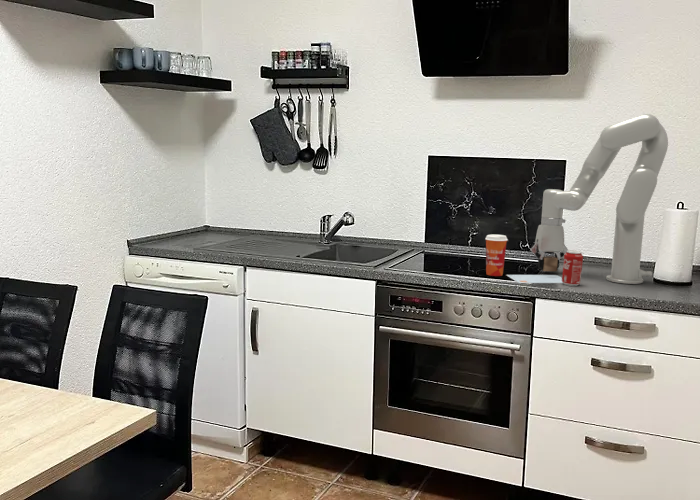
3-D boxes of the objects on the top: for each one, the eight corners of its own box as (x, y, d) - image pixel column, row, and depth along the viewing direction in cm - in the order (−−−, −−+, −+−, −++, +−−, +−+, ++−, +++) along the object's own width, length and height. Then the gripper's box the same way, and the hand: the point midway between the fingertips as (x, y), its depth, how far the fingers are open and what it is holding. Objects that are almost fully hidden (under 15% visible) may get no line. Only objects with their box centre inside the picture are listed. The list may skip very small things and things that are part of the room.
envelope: (556, 275, 263) (556, 275, 263) (573, 283, 248) (573, 283, 248) (505, 275, 261) (505, 274, 261) (519, 283, 246) (519, 282, 246)
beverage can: (565, 281, 250) (568, 248, 247) (582, 284, 246) (586, 251, 243) (558, 284, 245) (561, 251, 243) (576, 288, 241) (579, 254, 239)
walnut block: (551, 268, 269) (552, 256, 268) (556, 271, 264) (557, 258, 263) (539, 268, 268) (540, 255, 267) (544, 271, 263) (545, 258, 262)
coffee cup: (479, 275, 260) (481, 235, 257) (488, 272, 267) (490, 233, 264) (501, 278, 255) (503, 237, 253) (509, 275, 262) (511, 235, 260)
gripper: (569, 221, 268) (565, 267, 270) (526, 220, 266) (523, 267, 269) (577, 223, 260) (573, 271, 263) (533, 222, 258) (530, 271, 261)
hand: (548, 268), depth 266 cm, fingers closed on walnut block, 5 cm apart
